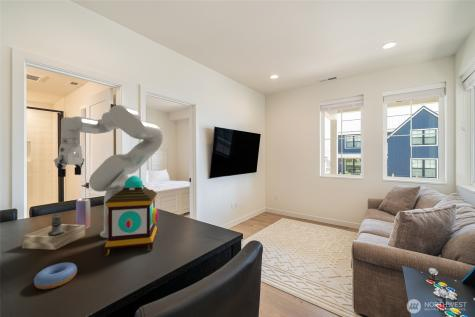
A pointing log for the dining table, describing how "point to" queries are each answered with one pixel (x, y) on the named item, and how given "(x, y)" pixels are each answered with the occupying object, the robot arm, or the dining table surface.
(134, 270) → the dining table surface
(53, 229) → the salt shaker
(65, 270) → the doughnut
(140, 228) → the decorative lantern
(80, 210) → the beverage can
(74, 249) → the dining table surface
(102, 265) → the dining table surface
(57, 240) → the box
